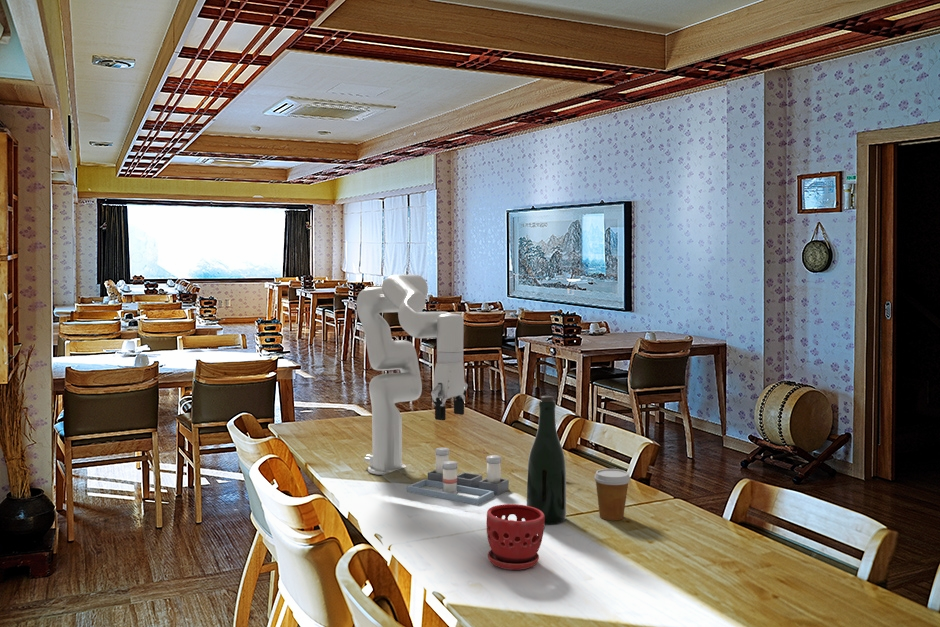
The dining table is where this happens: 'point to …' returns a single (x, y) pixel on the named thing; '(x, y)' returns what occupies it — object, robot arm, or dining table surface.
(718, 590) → the dining table surface
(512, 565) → the plant pot
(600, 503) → the disposable coffee cup
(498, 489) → the fuse holder
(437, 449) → the ball
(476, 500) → the parts tray
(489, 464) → the fuse
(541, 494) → the green wine bottle
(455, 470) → the cylinder
